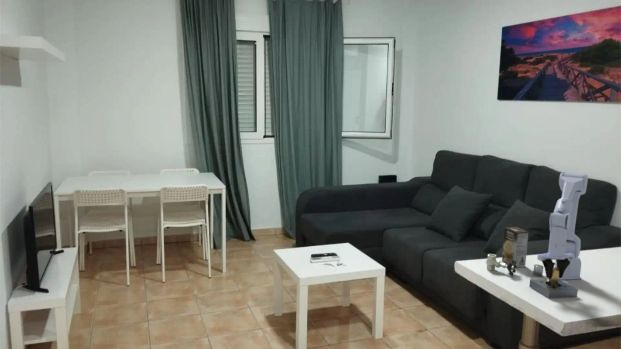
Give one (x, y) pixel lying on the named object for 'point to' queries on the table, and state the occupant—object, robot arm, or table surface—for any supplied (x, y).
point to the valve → (500, 264)
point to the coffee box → (515, 246)
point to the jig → (553, 288)
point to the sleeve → (538, 270)
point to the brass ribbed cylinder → (554, 277)
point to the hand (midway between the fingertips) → (554, 277)
